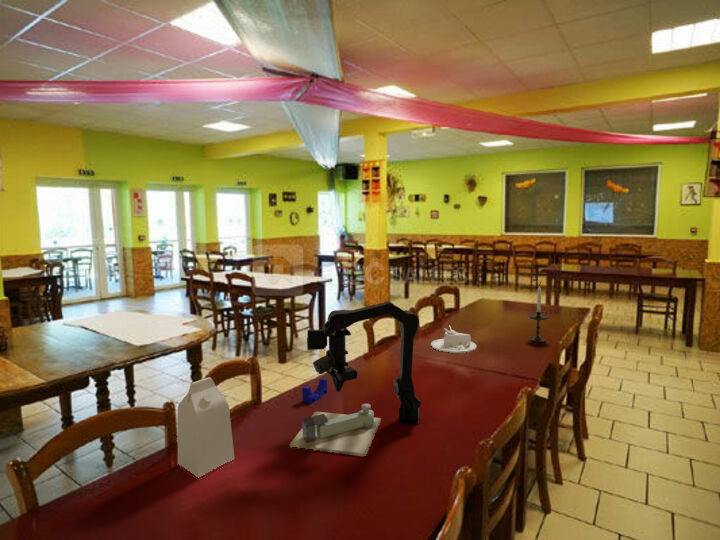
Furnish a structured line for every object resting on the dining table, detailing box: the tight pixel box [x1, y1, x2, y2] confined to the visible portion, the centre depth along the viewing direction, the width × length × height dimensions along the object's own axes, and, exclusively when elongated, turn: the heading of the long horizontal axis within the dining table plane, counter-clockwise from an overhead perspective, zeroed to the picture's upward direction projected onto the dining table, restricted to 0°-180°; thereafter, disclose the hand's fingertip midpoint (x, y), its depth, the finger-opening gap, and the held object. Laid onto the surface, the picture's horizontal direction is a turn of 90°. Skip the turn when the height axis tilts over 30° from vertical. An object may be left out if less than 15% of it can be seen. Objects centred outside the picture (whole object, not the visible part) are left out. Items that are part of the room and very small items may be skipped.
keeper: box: [301, 414, 328, 443], centre depth 143 cm, size 8×4×6 cm, turn 116°
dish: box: [430, 324, 477, 354], centre depth 243 cm, size 25×25×11 cm
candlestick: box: [528, 281, 550, 343], centre depth 250 cm, size 11×11×35 cm
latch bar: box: [317, 403, 375, 439], centre depth 147 cm, size 21×5×6 cm, turn 119°
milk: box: [177, 376, 236, 478], centre depth 130 cm, size 12×12×26 cm
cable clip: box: [301, 377, 328, 405], centre depth 177 cm, size 12×4×6 cm, turn 145°
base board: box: [289, 411, 382, 457], centre depth 148 cm, size 25×24×1 cm
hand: (338, 391), depth 151 cm, fingers closed
